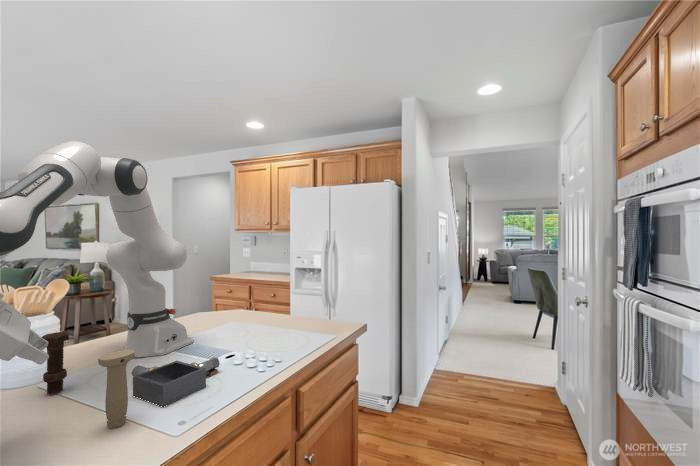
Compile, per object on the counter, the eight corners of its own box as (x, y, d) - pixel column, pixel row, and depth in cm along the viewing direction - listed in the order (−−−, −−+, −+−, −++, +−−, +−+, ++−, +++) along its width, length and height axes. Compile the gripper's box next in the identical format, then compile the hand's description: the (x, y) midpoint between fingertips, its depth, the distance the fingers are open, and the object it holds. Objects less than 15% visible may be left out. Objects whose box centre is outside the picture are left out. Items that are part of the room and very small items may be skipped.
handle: (94, 428, 70) (94, 357, 70) (127, 414, 75) (127, 348, 75) (104, 436, 67) (104, 361, 67) (138, 421, 73) (138, 352, 73)
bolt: (50, 399, 83) (50, 338, 83) (34, 397, 84) (34, 337, 84) (74, 388, 88) (74, 331, 88) (59, 386, 89) (59, 330, 89)
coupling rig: (183, 362, 106) (183, 347, 106) (230, 375, 97) (230, 357, 97) (113, 389, 88) (113, 370, 88) (162, 407, 78) (162, 386, 78)
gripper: (-21, 304, 51) (63, 353, 58) (-6, 288, 66) (59, 328, 73) (-67, 339, 48) (27, 386, 55) (-41, 314, 63) (30, 353, 70)
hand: (45, 353), depth 64 cm, fingers open, 8 cm apart
